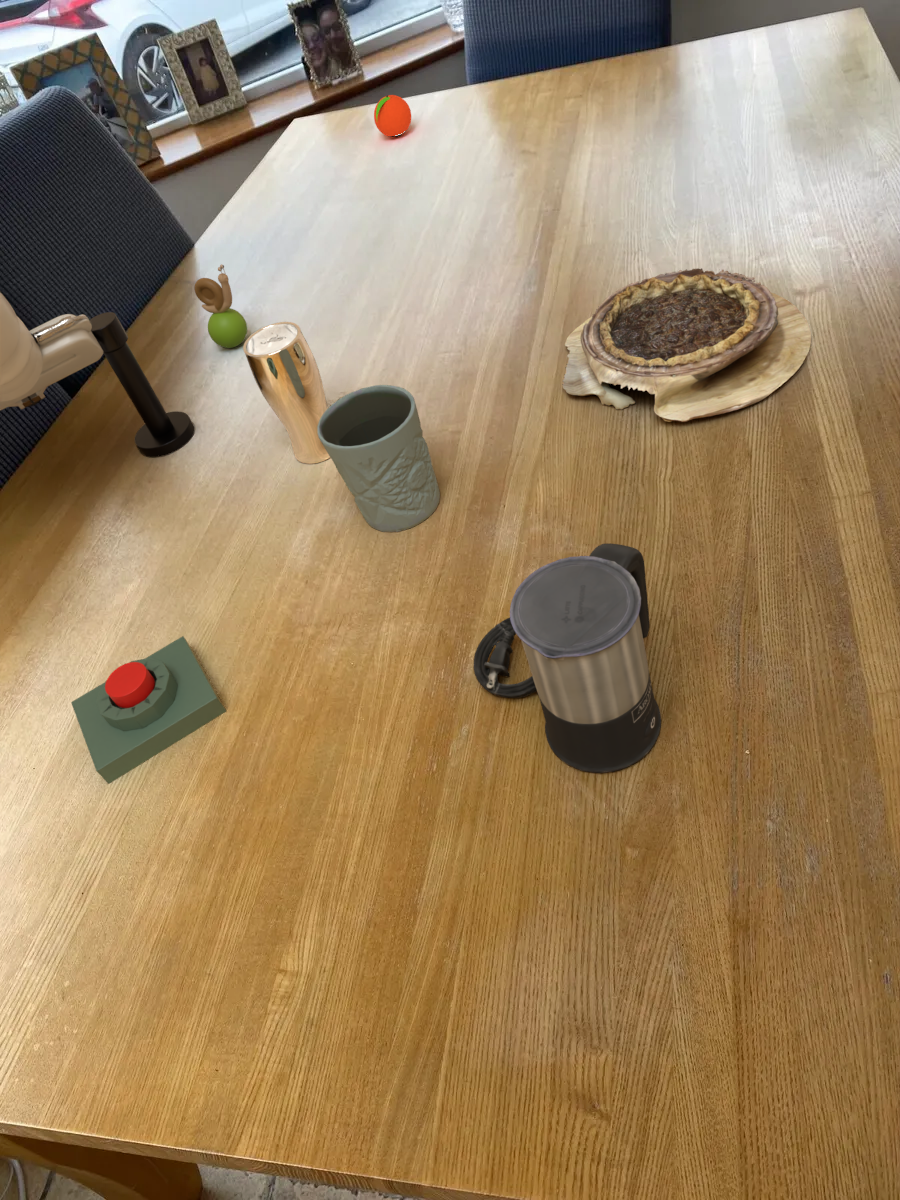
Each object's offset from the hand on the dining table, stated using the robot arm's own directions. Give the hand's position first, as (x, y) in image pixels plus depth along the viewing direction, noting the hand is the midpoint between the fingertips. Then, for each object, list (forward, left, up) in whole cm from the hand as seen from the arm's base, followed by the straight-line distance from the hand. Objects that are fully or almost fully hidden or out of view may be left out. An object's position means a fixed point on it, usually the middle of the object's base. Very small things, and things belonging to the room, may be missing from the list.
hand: (30, 397), depth 112 cm
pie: (+64, -40, -12) cm, 77 cm away
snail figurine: (+27, +12, -12) cm, 33 cm away
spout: (+6, 0, -1) cm, 6 cm away
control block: (-5, -46, -12) cm, 47 cm away
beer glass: (+25, -21, -12) cm, 35 cm away
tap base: (+11, -2, -12) cm, 17 cm away
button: (-5, -46, -9) cm, 47 cm away
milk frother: (+25, -71, -12) cm, 76 cm away
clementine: (+78, +56, -12) cm, 97 cm away
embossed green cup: (+27, -38, -12) cm, 48 cm away
